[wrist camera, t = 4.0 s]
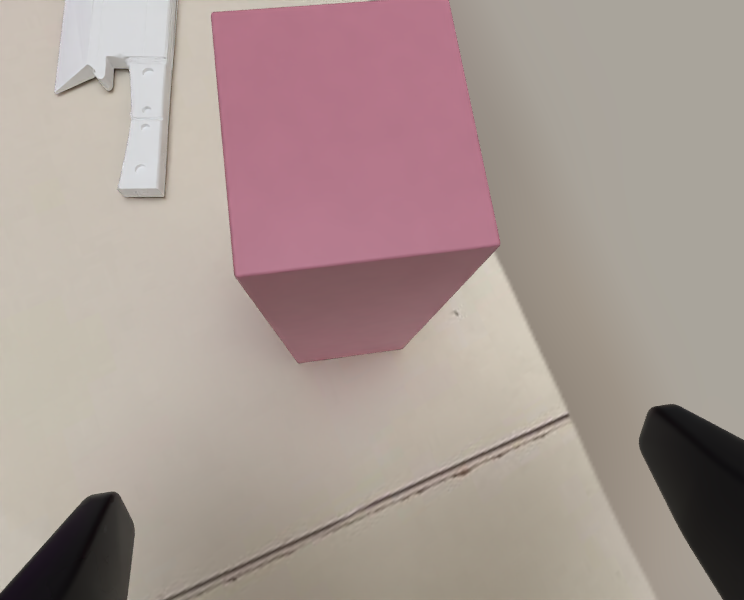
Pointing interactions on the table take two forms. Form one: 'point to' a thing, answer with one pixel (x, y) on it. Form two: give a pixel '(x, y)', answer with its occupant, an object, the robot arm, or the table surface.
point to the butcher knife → (147, 75)
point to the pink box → (350, 170)
